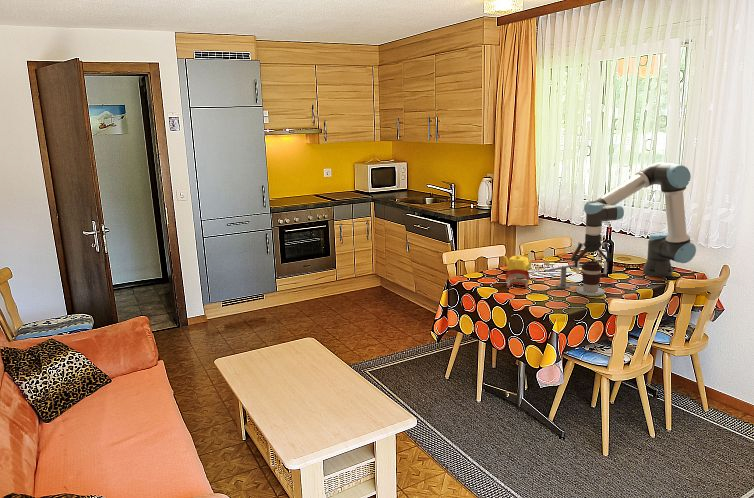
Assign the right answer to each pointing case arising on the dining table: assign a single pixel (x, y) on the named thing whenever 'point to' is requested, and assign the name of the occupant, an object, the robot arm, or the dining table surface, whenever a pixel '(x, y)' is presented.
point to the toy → (516, 274)
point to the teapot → (518, 262)
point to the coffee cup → (591, 276)
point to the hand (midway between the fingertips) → (591, 273)
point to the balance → (562, 274)
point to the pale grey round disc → (599, 292)
